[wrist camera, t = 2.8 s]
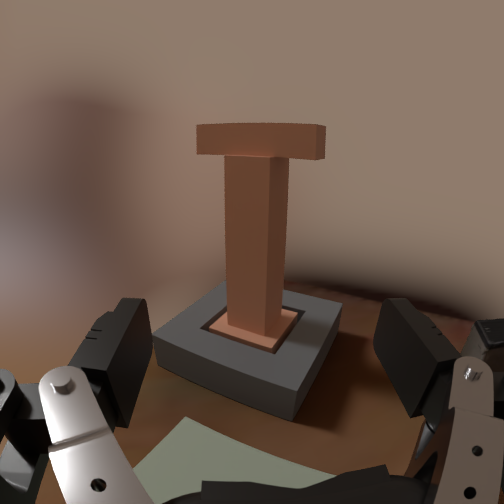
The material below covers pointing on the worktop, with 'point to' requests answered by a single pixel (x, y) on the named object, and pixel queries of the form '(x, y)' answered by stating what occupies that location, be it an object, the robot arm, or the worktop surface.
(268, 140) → the t key
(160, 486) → the mat
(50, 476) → the worktop surface
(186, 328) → the socket block
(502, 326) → the electronic device
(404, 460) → the worktop surface
